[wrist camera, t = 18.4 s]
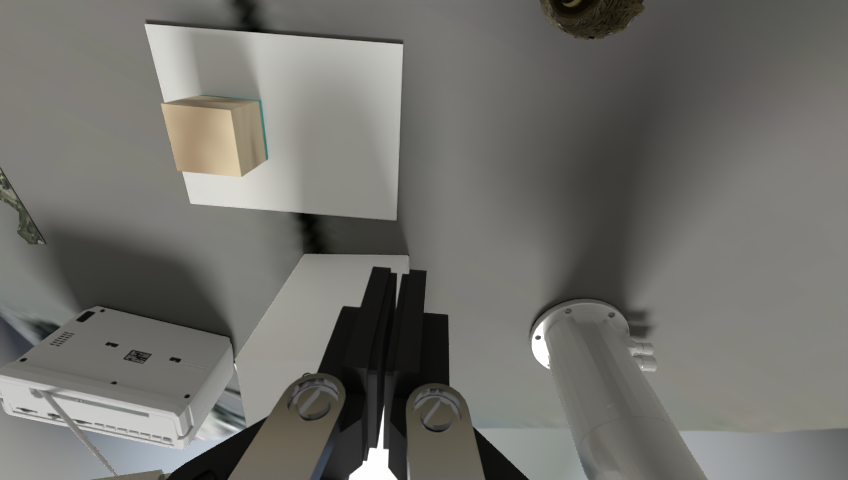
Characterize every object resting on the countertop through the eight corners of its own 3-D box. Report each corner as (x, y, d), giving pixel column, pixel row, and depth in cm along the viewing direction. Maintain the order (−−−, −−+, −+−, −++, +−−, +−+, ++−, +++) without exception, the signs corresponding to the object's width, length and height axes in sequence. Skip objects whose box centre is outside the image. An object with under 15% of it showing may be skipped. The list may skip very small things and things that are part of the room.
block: (160, 103, 31) (201, 94, 36) (177, 171, 34) (213, 153, 39) (230, 110, 31) (261, 100, 36) (241, 177, 34) (268, 159, 39)
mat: (403, 44, 34) (402, 44, 34) (396, 219, 42) (396, 220, 42) (146, 24, 34) (144, 23, 34) (192, 202, 43) (190, 203, 42)
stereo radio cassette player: (96, 338, 54) (-70, 480, 37) (87, 296, 50) (-103, 432, 33) (237, 371, 56) (144, 521, 39) (240, 333, 52) (137, 479, 35)
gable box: (414, 379, 55) (390, 650, 31) (327, 376, 56) (236, 640, 31) (409, 252, 45) (366, 511, 20) (302, 251, 45) (135, 500, 21)
